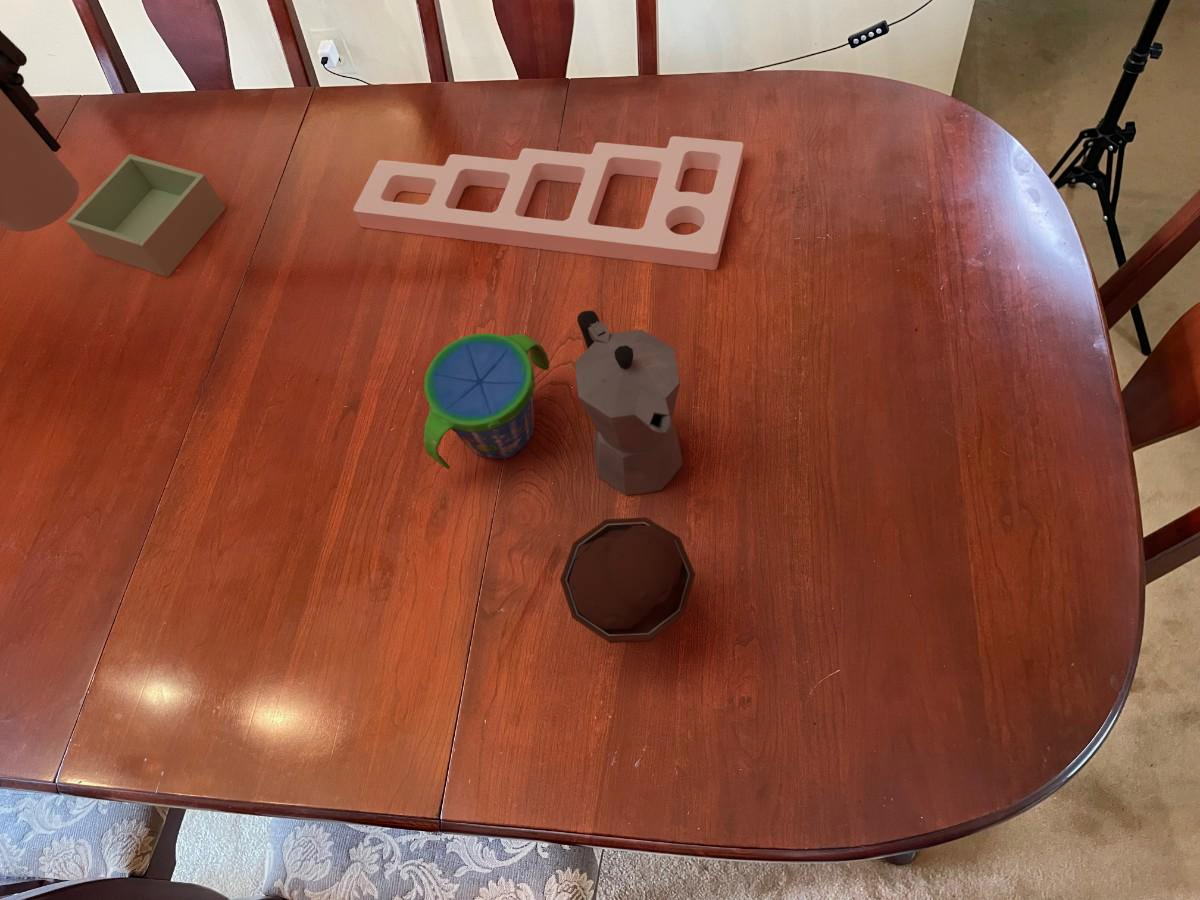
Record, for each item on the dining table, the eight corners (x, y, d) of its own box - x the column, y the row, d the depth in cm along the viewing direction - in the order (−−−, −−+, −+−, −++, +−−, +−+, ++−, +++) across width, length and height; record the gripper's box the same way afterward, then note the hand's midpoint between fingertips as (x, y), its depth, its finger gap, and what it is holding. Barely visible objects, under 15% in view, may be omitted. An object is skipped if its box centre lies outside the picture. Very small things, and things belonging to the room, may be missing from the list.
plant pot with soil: (667, 542, 81) (661, 468, 68) (712, 650, 75) (713, 592, 62) (562, 579, 80) (535, 512, 67) (599, 691, 75) (577, 641, 62)
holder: (359, 226, 106) (352, 211, 104) (409, 128, 114) (403, 111, 112) (716, 270, 97) (716, 254, 94) (743, 159, 105) (744, 142, 102)
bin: (94, 253, 109) (65, 221, 104) (154, 187, 114) (129, 153, 109) (168, 277, 105) (141, 245, 100) (226, 208, 110) (204, 174, 106)
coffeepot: (712, 484, 83) (714, 382, 68) (629, 529, 82) (611, 435, 66) (636, 375, 91) (622, 260, 75) (558, 414, 89) (527, 305, 74)
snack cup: (474, 511, 85) (447, 462, 76) (412, 448, 89) (380, 395, 80) (587, 414, 89) (575, 357, 80) (523, 358, 93) (504, 299, 85)
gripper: (-301, 30, 54) (-35, 268, 74) (-64, -142, 63) (118, 113, 83) (-370, 9, 56) (-93, 246, 76) (-131, -154, 65) (62, 97, 85)
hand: (16, 177), depth 79 cm, fingers closed on travel mug, 8 cm apart
